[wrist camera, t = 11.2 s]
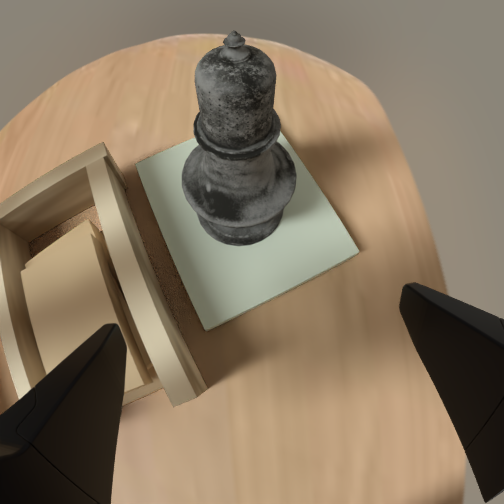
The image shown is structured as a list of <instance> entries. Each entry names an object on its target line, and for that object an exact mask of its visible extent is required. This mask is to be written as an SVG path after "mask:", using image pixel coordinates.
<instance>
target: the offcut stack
mask: <svg viewBox="0 0 504 504" xmlns="http://www.w3.org/2000/svg"><path fill="white" fill-rule="evenodd" d="M25 267H26V269H24V270H23V271H21V277H22V283H23V288H24V293H25V298H26V302H27V307H28V311H29V315H30V320H31V323H32V327H33V331H34V335H35V339H36V342H37V346H38V349H39V352H40V356H41V359H42V362H43V365H44V368H45V371H46V374H48V373H49V372H50V371H52V370H53V369H54V368H55V367H56V366H57V365H58V364H59V363H60V362H62V361H63V360H64V359H65V358H66V357H67V356H68V355H70V354H71V353H72V352H73V351H74V350H75V349H76V348H78V347H79V346H80V345H81V344H82V343H83V342H84V341H86V340H87V339H88V338H89V337H90V336H91V335H92V334H94V333H95V332H96V331H97V330H98V329H99V328H101V327H102V326H103V325H104V324H107V323H117V324H118V325H119V327H120V329H121V332H122V334H123V337H124V339H125V342H126V345H127V358H126V374H125V390H124V397H123V404H122V406H125V405H127V404H129V403H131V402H134V401H136V400H138V399H140V398H143V397H145V396H147V395H149V394H151V393H154V392H156V391H158V390H160V389H162V388H163V385H162V383H161V381H160V379H159V377H158V375H157V373H156V371H155V368H154V366H153V364H152V362H151V359H150V357H149V355H148V353H147V350H146V348H145V346H144V343H143V341H142V339H141V336H140V334H139V331H138V329H137V327H136V324H135V322H134V319H133V317H132V314H131V311H130V309H129V306H128V304H127V301H126V298H125V296H124V293H123V290H122V287H121V285H120V282H119V279H118V276H117V273H116V270H115V267H114V265H113V262H112V258H111V255H110V252H109V249H108V246H107V243H106V240H105V236H104V233H103V230H102V231H100V232H99V230H98V228H97V227H96V226H95V225H94V224H93V223H92V222H91V221H90V220H89V219H87V220H85V221H84V222H82V223H81V224H79V225H78V226H77V227H75V228H74V229H72V230H71V231H69V232H68V233H66V234H65V235H64V236H62V237H61V238H59V239H58V240H57V241H55V242H54V243H52V244H51V245H50V246H48V247H47V248H45V249H44V250H43V251H41V252H40V253H39V254H37V255H36V256H35V257H33V258H32V259H31V260H29V261H28V262H27V263H26V264H25Z"/></svg>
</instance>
